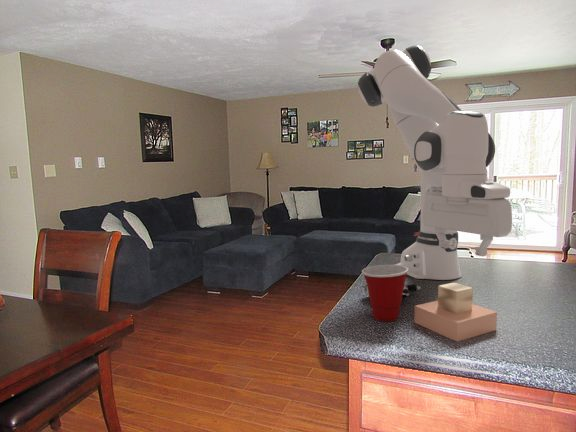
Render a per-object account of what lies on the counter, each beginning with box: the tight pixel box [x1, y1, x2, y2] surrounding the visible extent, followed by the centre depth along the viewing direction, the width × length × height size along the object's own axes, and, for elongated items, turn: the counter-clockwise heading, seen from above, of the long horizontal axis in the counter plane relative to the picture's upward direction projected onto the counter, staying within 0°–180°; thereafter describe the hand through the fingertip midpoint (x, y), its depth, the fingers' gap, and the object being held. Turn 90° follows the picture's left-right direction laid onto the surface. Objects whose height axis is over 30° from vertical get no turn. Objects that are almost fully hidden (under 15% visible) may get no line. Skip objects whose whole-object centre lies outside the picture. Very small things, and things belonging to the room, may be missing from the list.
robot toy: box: [359, 281, 421, 300], centre depth 113 cm, size 12×4×15 cm
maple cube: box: [437, 282, 474, 314], centre depth 92 cm, size 5×5×5 cm
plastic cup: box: [361, 264, 408, 322], centre depth 98 cm, size 11×11×12 cm
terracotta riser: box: [414, 300, 498, 342], centre depth 92 cm, size 12×12×4 cm
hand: (461, 251), depth 90 cm, fingers open, 8 cm apart
